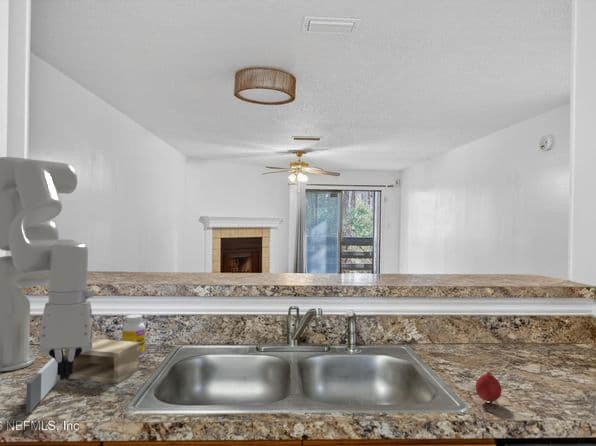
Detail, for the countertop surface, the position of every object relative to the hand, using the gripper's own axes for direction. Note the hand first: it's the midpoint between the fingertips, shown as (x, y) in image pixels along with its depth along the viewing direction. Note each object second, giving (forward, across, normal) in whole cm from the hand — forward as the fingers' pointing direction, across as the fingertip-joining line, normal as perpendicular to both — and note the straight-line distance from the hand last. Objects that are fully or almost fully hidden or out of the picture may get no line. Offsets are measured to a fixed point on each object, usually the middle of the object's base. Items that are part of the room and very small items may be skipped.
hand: (65, 377), depth 94 cm
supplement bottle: (+8, -14, -33) cm, 36 cm away
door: (+6, +5, -8) cm, 12 cm away
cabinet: (+7, -6, -20) cm, 22 cm away
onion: (+5, -97, +27) cm, 101 cm away
